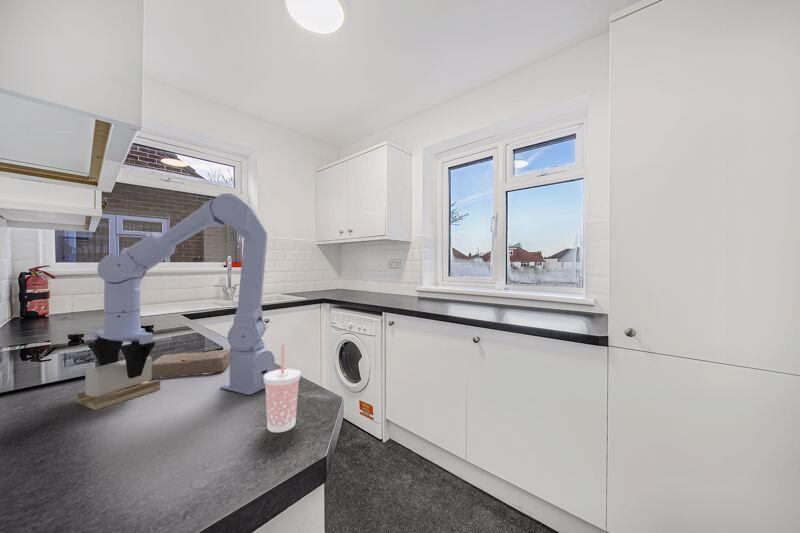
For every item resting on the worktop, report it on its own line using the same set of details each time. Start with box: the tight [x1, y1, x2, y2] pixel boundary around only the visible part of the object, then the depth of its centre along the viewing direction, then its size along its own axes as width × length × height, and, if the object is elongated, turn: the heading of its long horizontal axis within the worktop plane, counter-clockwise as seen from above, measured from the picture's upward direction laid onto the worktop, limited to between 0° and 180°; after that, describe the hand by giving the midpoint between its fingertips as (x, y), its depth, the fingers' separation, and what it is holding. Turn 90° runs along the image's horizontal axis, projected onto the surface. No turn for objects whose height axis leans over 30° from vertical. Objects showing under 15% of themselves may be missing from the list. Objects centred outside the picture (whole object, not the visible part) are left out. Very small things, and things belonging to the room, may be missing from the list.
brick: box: [152, 349, 230, 379], centre depth 80 cm, size 17×8×5 cm, turn 107°
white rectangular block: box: [84, 356, 153, 397], centre depth 64 cm, size 10×4×5 cm, turn 165°
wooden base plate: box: [77, 379, 161, 411], centre depth 64 cm, size 7×11×2 cm, turn 156°
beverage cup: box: [263, 344, 302, 433], centre depth 53 cm, size 6×6×14 cm
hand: (121, 375), depth 64 cm, fingers open, 7 cm apart
